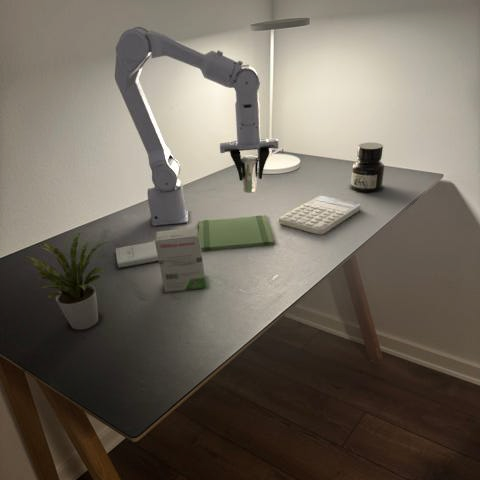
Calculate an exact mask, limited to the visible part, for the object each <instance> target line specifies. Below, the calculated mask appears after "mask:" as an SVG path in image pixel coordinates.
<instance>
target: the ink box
mask: <svg viewBox="0 0 480 480" xmlns="http://www.w3.org/2000/svg"><path fill="white" fill-rule="evenodd" d="M154 241H155V244H156V249H157V254H158V259H159V261H158V264H159V269H160V273H161V279H162V284H163V289H164V292H165V293H172V292H179V291H188V290H197V289H204V288H207V282H206V274H205V273H206V272H205V267H204V260H203V251H201V245H200V238H199V227H197V226H196V227H188V228H180V229H179V228H178V229H170V230H168V229H167V230H160V231H156V232H155V237H154Z"/></svg>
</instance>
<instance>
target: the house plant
mask: <svg viewBox="0 0 480 480" xmlns="http://www.w3.org/2000/svg"><path fill="white" fill-rule="evenodd" d="M80 235H81V232H79V233H78V234H76V236H75V237H74V238H73V241H72V243H71V247H70V254H69V258H70V264H69V262H68V260H67V257H66V256H65V254H64V253H63V252H62V251H61V250H60V249H59V248H58V247H55V246H52V245H51V244H49V243H47V242H44V241H42V244H43V245H44V246H45V247H47V248H45V247H43V246H41V248H42V249H44V250H46V251H48V252H50V253H51V254H53V255H54V256H55V258H56V259H57V262H58V264H59V265H60V266H61V268H62V271H63V272H64V275H63V274H62V273H60V272H58V270H57V269H55V268H54V267H53V266H52V265H51V264H49V263H48V262H46V261H44V260H42V259H39V258H36V257H33V256H25V258H27V259H30V260H32V261H31V263H32V264H33V265H34V266H35V268H36V269H37V271H35V272H33V274H35V273H37V272H38V273H39V274H40V275H42V276H40V277H39V280H47V281H49V282H50V283H52V284H50V285H49V284H48V285H44V286H39V288H40V289H51V290H59V292H56V291H55V292H51V293H50V294H49V296H48V297H47V300H49V299H50V298H55V302H56V303H57V305H58V306H59V309H60V310H61V311H62V313H63V315H64V317H65V318H66V320H67V322H68V323H69V326H70V327H71V328H72V329H73V330H86V329H90V328H91V327H94V326H95V325H96V324H97V323H98V322H99V309H98V300H97V291H96V287H94V285H92V284H90V283H92V282H94V281H97V280H99V279H102V278H104V279H105V277H104V276H102V275H98V274H99V273H101V272H104V273H105V271H104V270H103V269H102V268H99V267H94V268H93V269H91V270H90V271H89V272H88V273H87V275H86V276H85V279H84V278H83V277H84V272H85V270H86V269H87V267H88V265H89V264H90V262H91V261H92V257H91V256H92V255H93V254H94V253H95V252H96V251H97V250H98V249H99V248H100V247H102V246H103V245H106V244H108V243H110V242H111V241H110V240H109V241H104V242H100V243H98V244H97V245H95V246H94V247H93V248H91V250H89V252H88V253H87V254H86V251H87V248H88V247H87V246H89V245H88V244H89V242H86V243H85V244H84V245H83V246H82V247H81V248H80V249H79V250H78V246H79V245H78V244H79V238H80ZM77 250H78V251H77ZM80 251H81V252H80ZM77 253H80V257H79V261H78V263H77V260H78V256H77ZM83 279H84V281H83Z"/></svg>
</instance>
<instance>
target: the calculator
mask: <svg viewBox="0 0 480 480" xmlns="http://www.w3.org/2000/svg"><path fill="white" fill-rule="evenodd" d="M361 206H362V205H361V204H360V203H359V202H355V201H351V200H347V199H342V198H338V197H337V198H336V197H332V196H328V195H324V194H323V195H322V194H321V195H317V196H315V197H314V198H312V199H310V200H308V201H306V202H305V203H303V204H301V205H299V206H298V207H295V208H294V209H292V210H290V211H288V212H287V213H285V214H283V215H281V216H280V217H279V218H278V222H279V224H280V225H283V226H287V227H290V228H294V229H297V230H301V231H304V232H308V233H311V234H314V235H319V236H321V235H324V234H325V233H328V232H329V231H330V230H332V229H333V228H335V227H337V226H338V225H340V224H341V223H343V222H344V221H345V220H347V219H349V218H350V217H352V216H353V215H355V214H356V213H358V212H359V211H360V210H361Z"/></svg>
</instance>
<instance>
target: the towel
mask: <svg viewBox="0 0 480 480" xmlns="http://www.w3.org/2000/svg"><path fill="white" fill-rule="evenodd" d="M198 231H199V238H200V245H201V252H203V251H213V250H214V251H215V250H227V249H237V248H238V249H239V248H249V247H261V246H271V245H272V246H273V245H275V242H276V241H275V238H274V236H273V232H272V229H271V226H270V223H269V219H268V216H267V215H266V214H265V215H261V214H260V215H254V216H243V217H231V218H230V217H229V218H220V219H204V220H199V221H198Z"/></svg>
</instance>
